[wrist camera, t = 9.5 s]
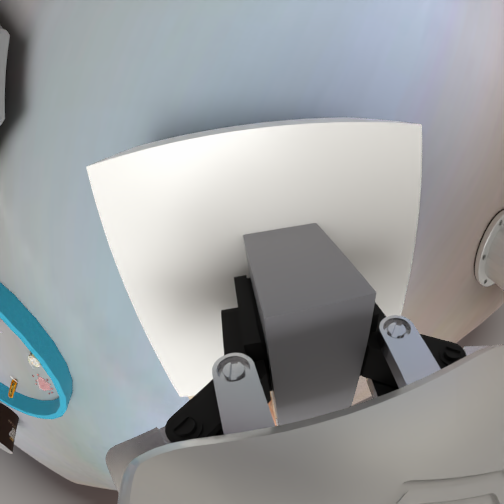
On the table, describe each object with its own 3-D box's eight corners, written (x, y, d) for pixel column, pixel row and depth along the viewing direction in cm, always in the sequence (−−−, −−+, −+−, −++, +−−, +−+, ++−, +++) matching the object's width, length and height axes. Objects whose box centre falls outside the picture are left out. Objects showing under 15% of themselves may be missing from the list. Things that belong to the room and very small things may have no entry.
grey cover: (346, 117, 17) (509, 144, 5) (347, 287, 23) (425, 406, 12) (138, 145, 16) (6, 208, 4) (185, 317, 22) (178, 466, 11)
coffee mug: (22, 425, 38) (12, 455, 29) (-6, 406, 35) (-17, 436, 26) (23, 412, 35) (11, 447, 26) (-8, 390, 32) (-22, 424, 23)
